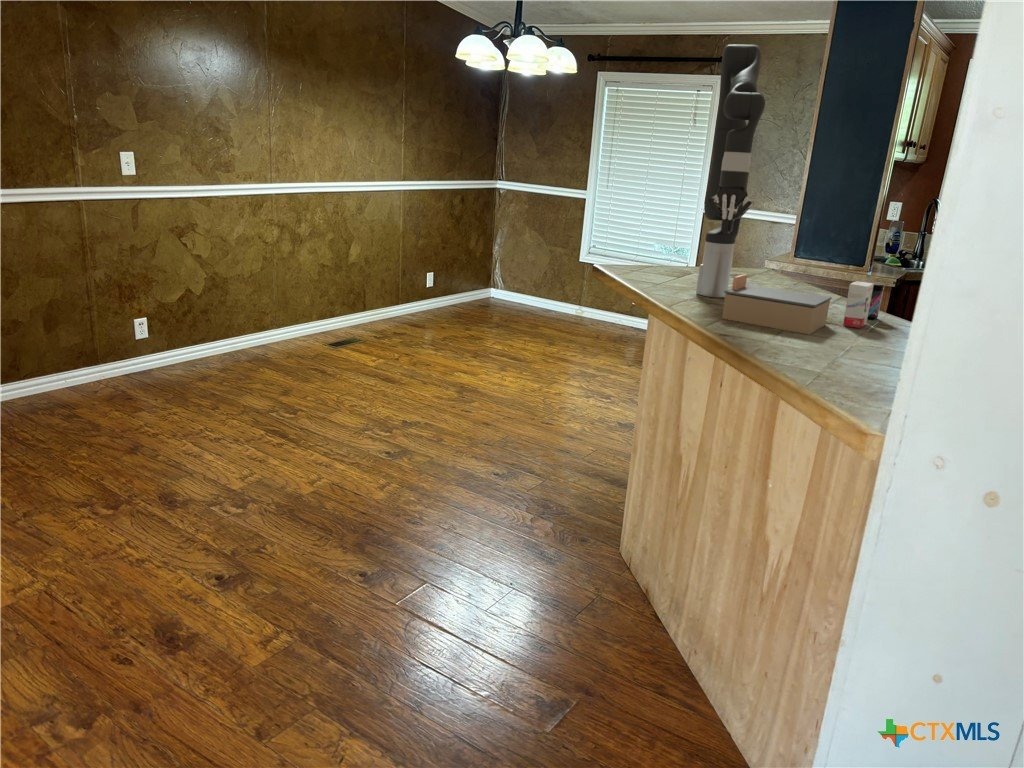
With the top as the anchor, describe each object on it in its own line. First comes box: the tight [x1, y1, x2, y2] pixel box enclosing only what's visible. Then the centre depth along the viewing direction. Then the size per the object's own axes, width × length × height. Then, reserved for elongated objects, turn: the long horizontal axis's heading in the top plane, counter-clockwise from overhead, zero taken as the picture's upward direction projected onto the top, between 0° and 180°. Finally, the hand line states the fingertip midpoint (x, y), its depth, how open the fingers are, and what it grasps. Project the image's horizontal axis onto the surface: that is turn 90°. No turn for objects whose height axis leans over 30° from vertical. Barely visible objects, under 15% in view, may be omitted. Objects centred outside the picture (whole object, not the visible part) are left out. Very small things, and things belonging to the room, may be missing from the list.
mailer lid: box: [725, 273, 832, 307], centre depth 203 cm, size 24×16×4 cm
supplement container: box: [859, 280, 885, 321], centre depth 216 cm, size 7×7×10 cm
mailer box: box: [721, 293, 831, 335], centre depth 205 cm, size 24×16×7 cm, turn 54°
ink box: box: [842, 281, 874, 329], centre depth 205 cm, size 9×5×12 cm, turn 144°
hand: (726, 233), depth 208 cm, fingers closed
